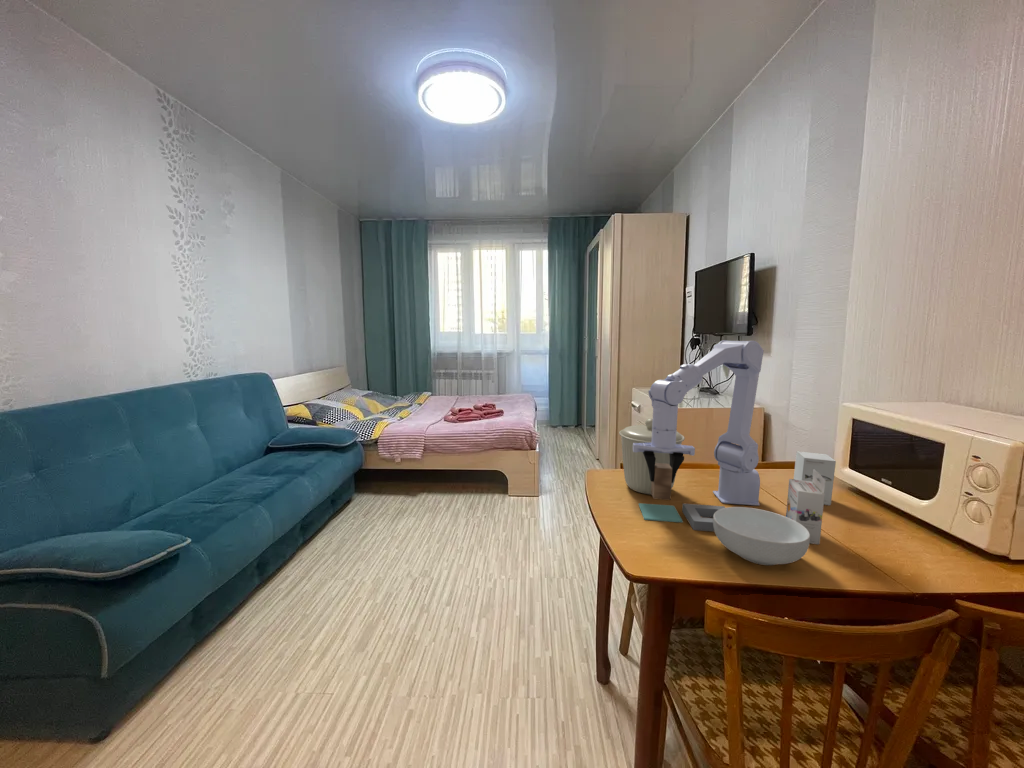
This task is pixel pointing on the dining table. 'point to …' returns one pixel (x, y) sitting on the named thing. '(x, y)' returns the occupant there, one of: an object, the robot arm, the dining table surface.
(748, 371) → the robot arm
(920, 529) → the dining table surface
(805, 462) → the supplement box
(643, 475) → the canister
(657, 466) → the walnut block
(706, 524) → the pocket plate
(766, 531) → the cereal bowl
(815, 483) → the ink box
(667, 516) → the mat
